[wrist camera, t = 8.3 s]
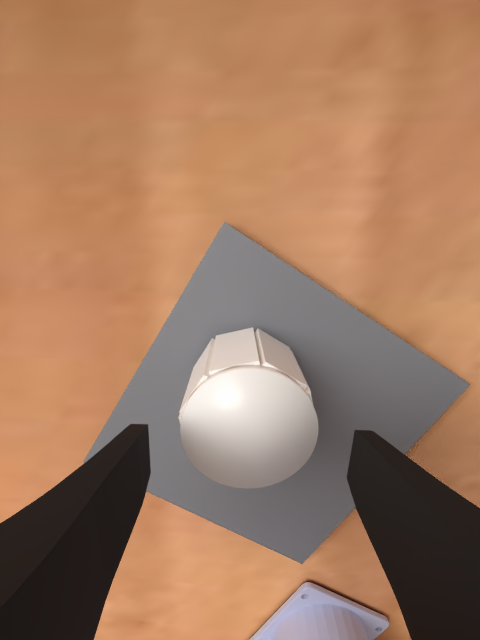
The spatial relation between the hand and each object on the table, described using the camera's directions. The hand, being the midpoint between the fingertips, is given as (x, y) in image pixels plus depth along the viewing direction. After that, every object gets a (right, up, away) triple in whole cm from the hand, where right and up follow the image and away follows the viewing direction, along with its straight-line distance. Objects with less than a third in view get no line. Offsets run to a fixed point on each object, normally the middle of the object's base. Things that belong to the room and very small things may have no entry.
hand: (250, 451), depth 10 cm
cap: (0, +2, +5) cm, 5 cm away
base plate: (+1, -1, +8) cm, 8 cm away
